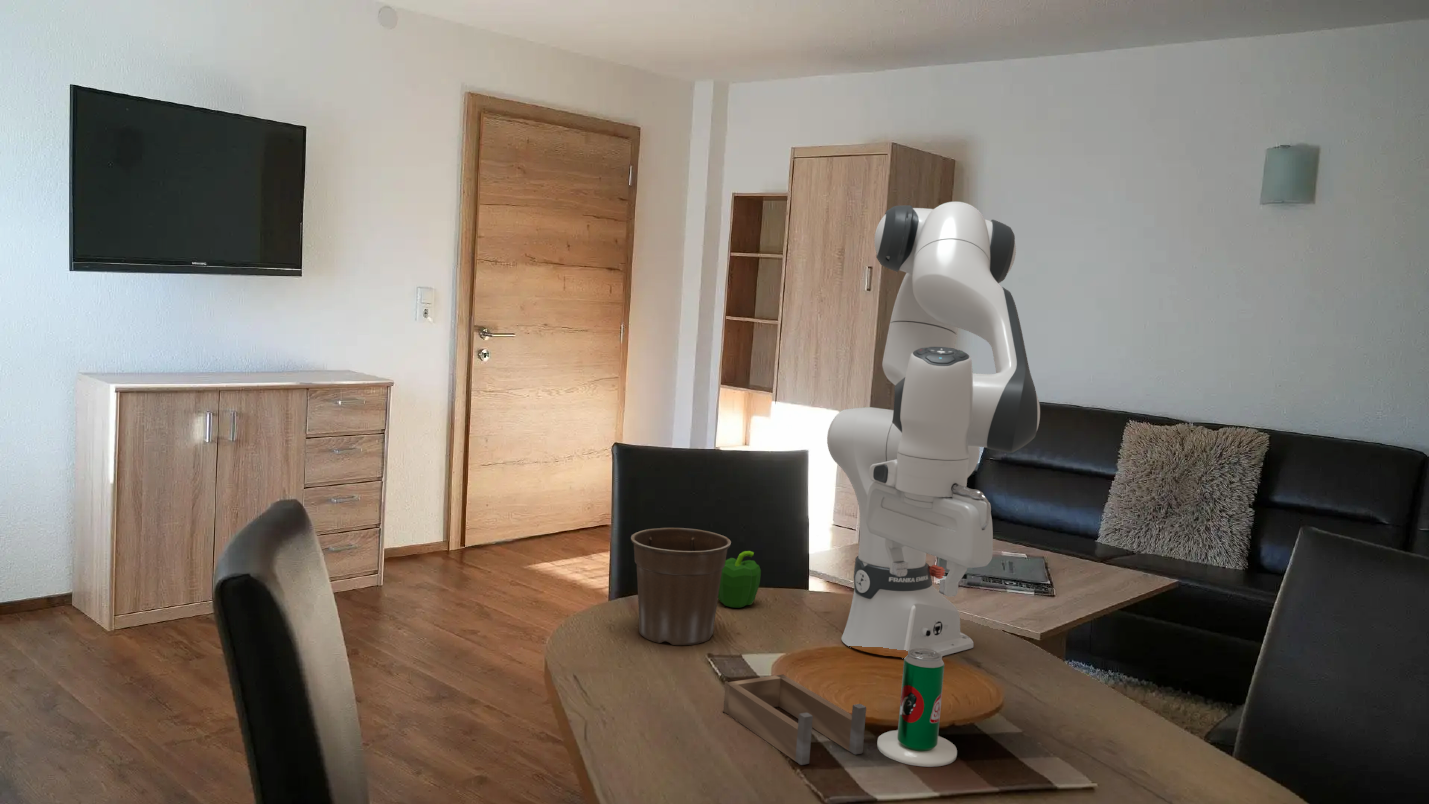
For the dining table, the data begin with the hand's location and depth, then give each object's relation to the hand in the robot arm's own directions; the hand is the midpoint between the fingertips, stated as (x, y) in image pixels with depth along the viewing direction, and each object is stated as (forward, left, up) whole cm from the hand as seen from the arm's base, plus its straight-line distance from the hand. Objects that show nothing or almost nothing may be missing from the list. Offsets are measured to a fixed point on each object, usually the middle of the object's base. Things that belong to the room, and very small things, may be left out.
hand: (922, 584), depth 141 cm
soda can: (0, +2, -21) cm, 21 cm away
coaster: (0, +2, -21) cm, 21 cm away
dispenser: (+12, -10, -21) cm, 26 cm away
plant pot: (+7, -50, -21) cm, 55 cm away
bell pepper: (-12, -62, -21) cm, 67 cm away
